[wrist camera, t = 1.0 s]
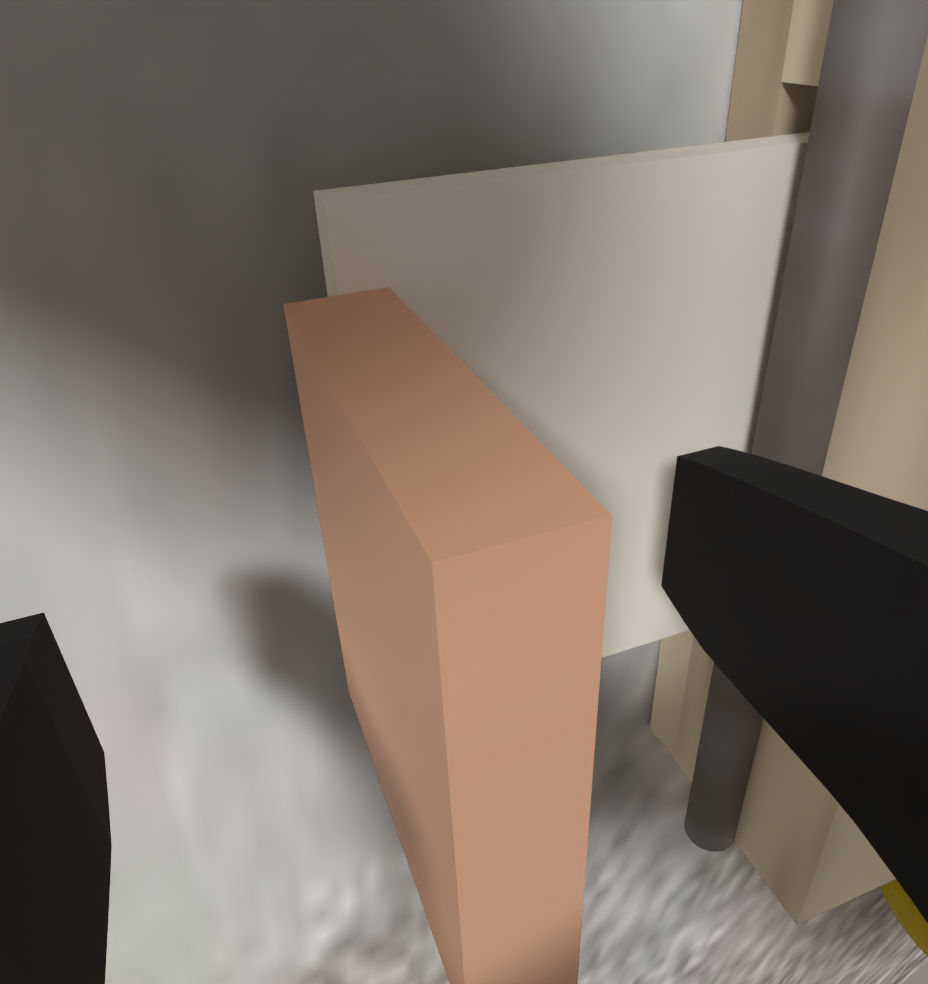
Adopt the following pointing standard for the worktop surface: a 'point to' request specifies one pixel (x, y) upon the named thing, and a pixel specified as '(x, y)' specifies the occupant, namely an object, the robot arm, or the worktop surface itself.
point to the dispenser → (820, 395)
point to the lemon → (907, 913)
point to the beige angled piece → (522, 486)
